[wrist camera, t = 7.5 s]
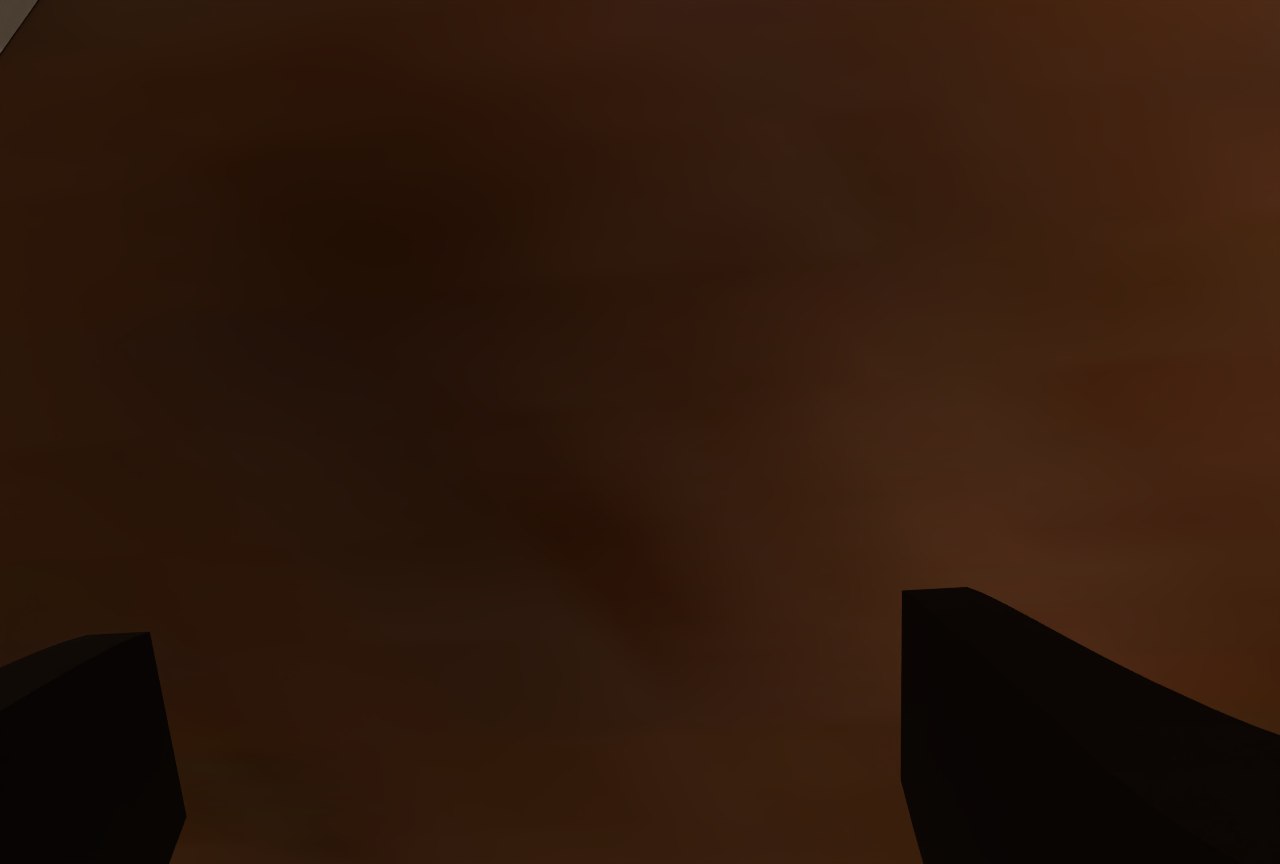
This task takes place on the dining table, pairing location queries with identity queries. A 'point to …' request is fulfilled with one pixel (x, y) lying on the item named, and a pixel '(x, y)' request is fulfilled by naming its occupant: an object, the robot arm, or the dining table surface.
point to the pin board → (12, 17)
